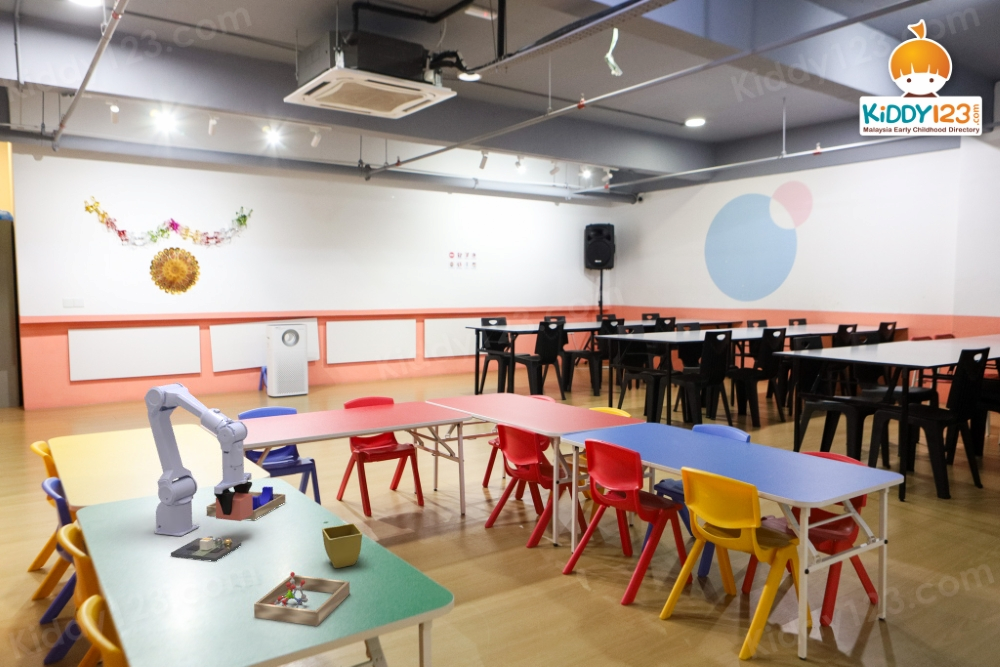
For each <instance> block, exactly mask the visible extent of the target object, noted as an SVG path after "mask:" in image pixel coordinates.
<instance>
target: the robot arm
mask: <svg viewBox="0 0 1000 667" xmlns="http://www.w3.org/2000/svg"><path fill="white" fill-rule="evenodd" d="M144 401H145V405H146V409H147V419H148V422H149V425H150V428H151V433H152V437H153V439H154V444H155V447H156V451H157V454H158V459H159V462H160V466H161V469H162V474H161V476H160V477H159V479H158V480H157V481H156V482H157V487H158V491H157V495H158V499H159V500H160V502H159V503H158V505H157V506H156V509H155V531H153V532H154V534H158V535H167V536H175V537H182V536H185V535H186V534H188V533H190V532H193V531H194V530H195V529H196V530H197V529H198V528H199V527H200V526H199V524H193V512H192V511H193V508H192V502H193V501H192V500H194V495H195V494H196V493H197V491H198V483H197V481H196V479H195V478H194V476H193V472H192V471H191V470H189V468H188V469H187V468H186V467H184V465H183V461H182V458H181V455H180V450H179V446H178V443H177V439H176V436H175V432H174V429H173V425H172V421H171V415H172V414H173V412H174V411H175V410H176V409H177V408H178V407H180V408H182V409H185V410H186V412H187V411H188V412H189V413H191V414H192V415H194V416H195V417H197V418H199V419H200V424H201V425H202V426H203V427H204V428H206V429H208V430H209V431H210V432H211V433H212V434H214V435H216V438H217V441H218V443H219V444H220V450H221V459H222V460H221V461H222V465H221V467H222V469H221V470H222V480H221V481H219V482H218V484H216V485H215V486H213V487H214V488H213V489H214V490H213V493H214V494H213V496H215V498H217V499H218V501H219V503H220V505H221V508H222V512H223V515H231V512H232V501H233V497H234V494H235V493H245V494H248V492H249V491H251V487H252V486H253V481H250V480H252V472H245V466H244V465H245V464H244V463H245V462H244V460H245V459H244V458H245V456H244V455H245V454H244V440H245V439H246V438H247V437H248V433H249V432H248V427H247V426H246V424H245V423H243V421H240V420H237V421H235V420H233V419H232V418H230V417H228V416H226V414H224V413H222V412H221V410H220V409H219V408H212V407H211V408H208V407H207V406H206V405H205V404H203V403H202V402H201V401H199V399H197V398H196V397H195V396H194V395H192V394H191V393H190V391H189V388H188V387H186V386H184V384H182V383H180V382H175V383H171V384H164V385H159V386H152V387H150V388H149V389H148V390H147V392H146V394H145V396H144ZM231 488H233V491H231V490H230V489H231Z"/></svg>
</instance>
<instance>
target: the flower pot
mask: <svg viewBox="0 0 1000 667" xmlns="http://www.w3.org/2000/svg"><path fill="white" fill-rule="evenodd" d="M321 532H322V539H323V545H324V550H325V553H326V555H327V557H328V558H329V561H330V563H331V564H332V565H333V567H334V568H335V569H340V568H345V567H348V566H354V565H355V564H356V562H357V561H358V559H359V556H360V555H361V551H362V550H361V549H362V541H363V540H362V539H363V532H362V531H361V530H360V528H358V526H357V525H356V524H355V523H347V524H341V525H336V526H335V525H334V526H330V527H323V528H321Z"/></svg>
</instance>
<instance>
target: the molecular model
mask: <svg viewBox="0 0 1000 667" xmlns="http://www.w3.org/2000/svg"><path fill="white" fill-rule="evenodd" d="M294 575H296V573H295V572H294V571H291V572H290V575H289V576H291V580H290V583H287V584H286V586H287V587H288V593H286V594H285V595H284V596H283V597H278V598H277V600H276V602H275V603H273V604H270V605H280V604H283V606H285V607H288V605H287V603H288V602H289V600H291V599H292V600H293V599H294V600H295V601H296V603H297V604H296V606H295V608H299V606H300V605H302V604H303V603H304V604H305V603H307V602H308V601H309V600H308V598H307V595H306V594H305V593H304V591H303V589H302V586H303V585H304V584H305V580H302V581H301V584H300V586H296V585H295V580H294V579H293V576H294ZM290 584H293V585H291V590H290ZM297 591H299V592H300V594H301V596H300V597H298V598H297V597H296V592H297Z"/></svg>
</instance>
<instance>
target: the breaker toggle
mask: <svg viewBox="0 0 1000 667" xmlns="http://www.w3.org/2000/svg"><path fill="white" fill-rule="evenodd" d="M206 537H207V536H206ZM206 537H203V539H202V540H200V550H209V549H211V548H213V540H214V537H213V538H206Z"/></svg>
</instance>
